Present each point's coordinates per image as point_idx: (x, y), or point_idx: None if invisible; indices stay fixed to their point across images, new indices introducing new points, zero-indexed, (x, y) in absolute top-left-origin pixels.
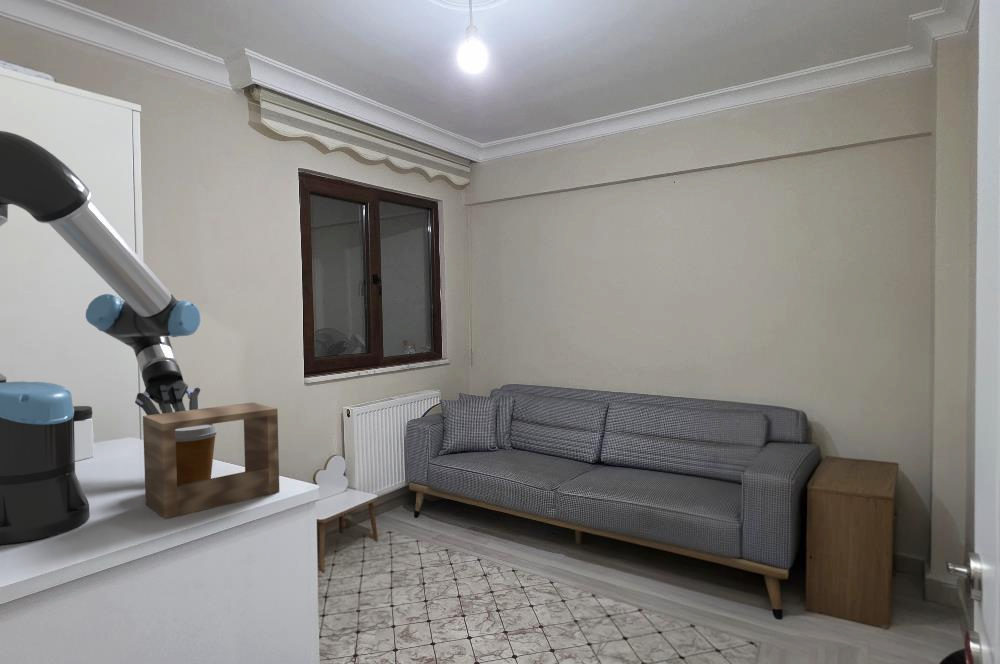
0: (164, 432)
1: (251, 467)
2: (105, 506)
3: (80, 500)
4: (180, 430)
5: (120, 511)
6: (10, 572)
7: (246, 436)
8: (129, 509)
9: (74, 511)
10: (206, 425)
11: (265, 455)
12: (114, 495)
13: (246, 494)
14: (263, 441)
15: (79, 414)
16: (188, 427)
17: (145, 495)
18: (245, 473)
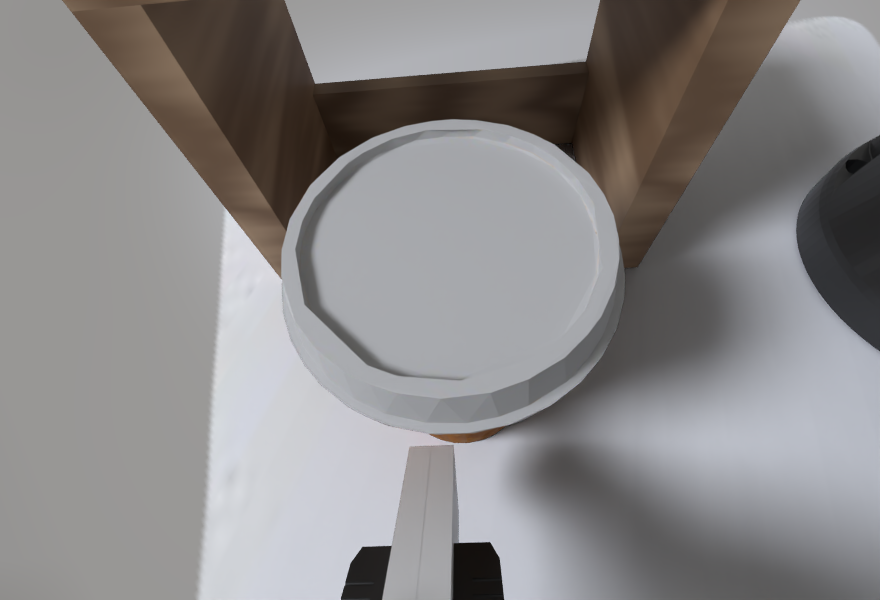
0: None
1: None
2: (765, 333)
3: (862, 167)
4: (544, 146)
5: (709, 251)
6: (875, 44)
7: (243, 135)
8: (684, 252)
9: (852, 155)
10: (331, 260)
11: (298, 60)
12: (752, 466)
13: None
14: (275, 17)
15: None
16: (454, 273)
17: (647, 250)
18: (387, 79)
